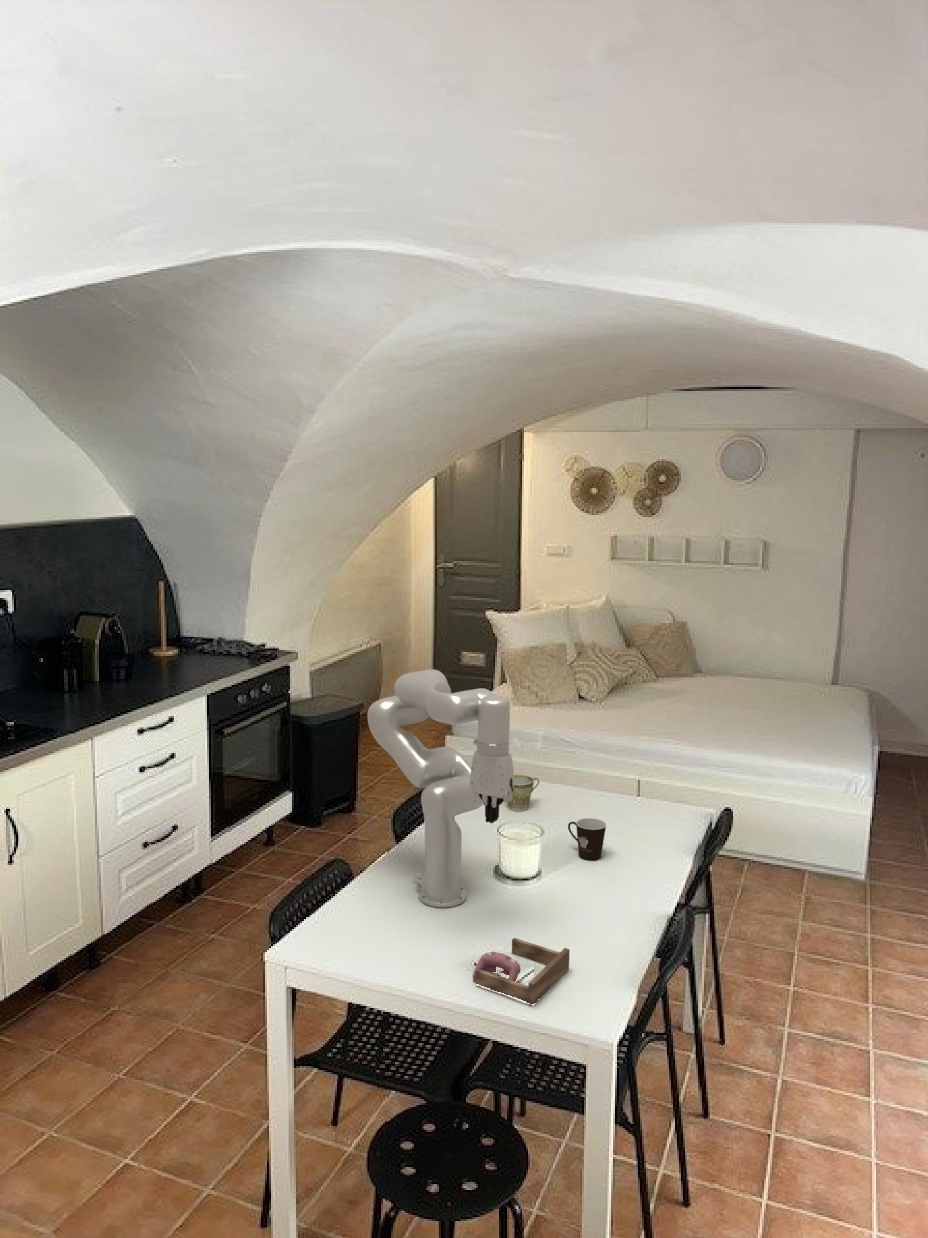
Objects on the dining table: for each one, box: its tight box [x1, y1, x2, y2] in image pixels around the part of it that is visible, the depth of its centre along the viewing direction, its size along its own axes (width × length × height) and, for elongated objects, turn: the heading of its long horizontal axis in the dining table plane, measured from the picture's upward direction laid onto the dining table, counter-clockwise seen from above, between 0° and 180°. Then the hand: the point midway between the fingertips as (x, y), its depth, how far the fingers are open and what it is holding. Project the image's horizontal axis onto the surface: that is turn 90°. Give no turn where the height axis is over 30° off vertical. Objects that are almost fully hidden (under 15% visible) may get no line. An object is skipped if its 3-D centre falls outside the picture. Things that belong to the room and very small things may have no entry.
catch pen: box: [474, 937, 570, 1004], centre depth 202 cm, size 14×17×5 cm
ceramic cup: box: [506, 773, 540, 813], centre depth 303 cm, size 13×10×10 cm
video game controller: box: [472, 951, 522, 982], centre depth 200 cm, size 10×5×7 cm, turn 60°
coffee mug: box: [567, 817, 607, 862], centre depth 266 cm, size 12×9×10 cm
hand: (491, 820), depth 221 cm, fingers closed
